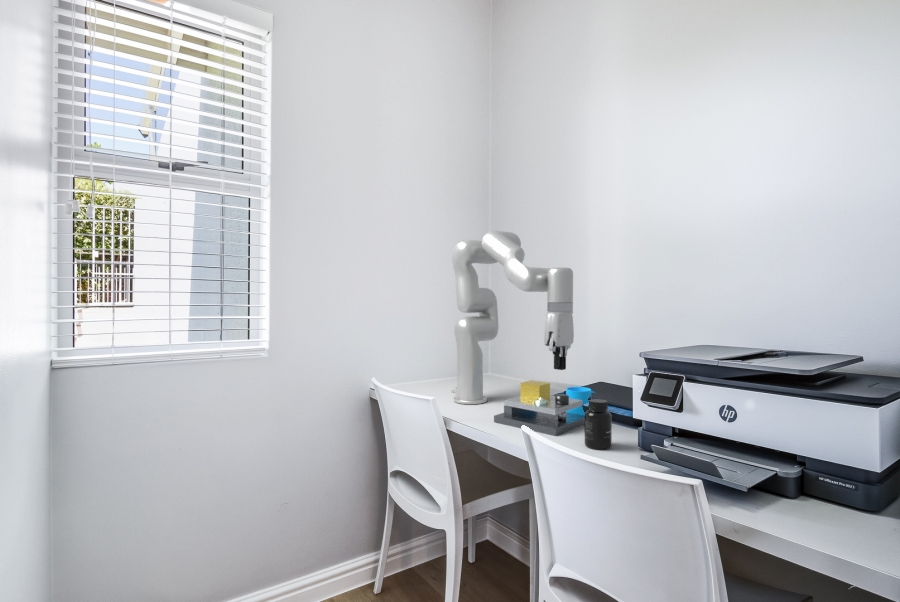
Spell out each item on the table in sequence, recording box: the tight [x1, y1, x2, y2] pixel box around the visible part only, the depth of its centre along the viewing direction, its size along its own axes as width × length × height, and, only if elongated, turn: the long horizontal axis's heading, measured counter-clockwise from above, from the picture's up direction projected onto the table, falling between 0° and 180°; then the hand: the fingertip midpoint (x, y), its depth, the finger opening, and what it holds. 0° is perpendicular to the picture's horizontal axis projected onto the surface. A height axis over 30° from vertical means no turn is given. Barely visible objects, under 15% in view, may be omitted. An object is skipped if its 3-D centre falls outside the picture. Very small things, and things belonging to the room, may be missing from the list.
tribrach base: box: [493, 404, 585, 437], centre depth 150 cm, size 22×19×5 cm
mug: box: [565, 386, 596, 416], centre depth 162 cm, size 12×8×8 cm
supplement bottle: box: [584, 398, 613, 451], centre depth 126 cm, size 7×7×12 cm
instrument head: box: [504, 380, 583, 415], centre depth 149 cm, size 18×16×7 cm
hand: (559, 369), depth 146 cm, fingers closed
